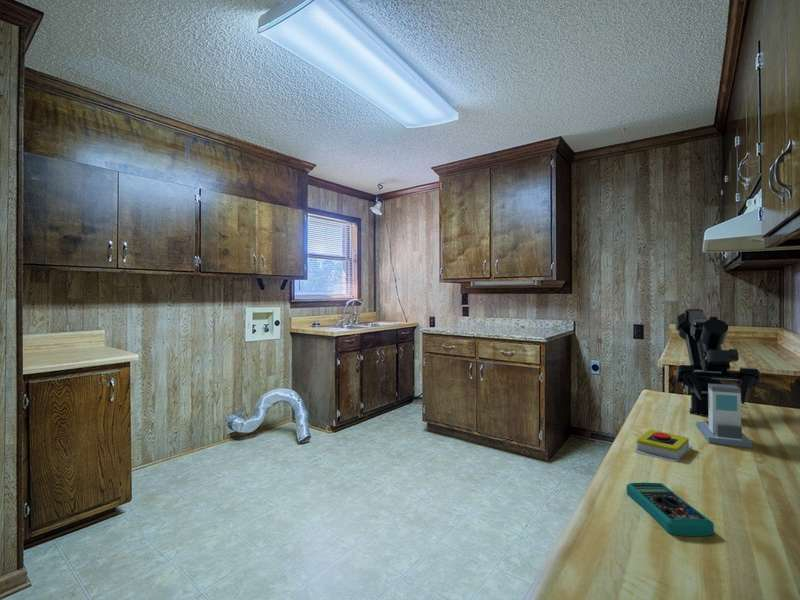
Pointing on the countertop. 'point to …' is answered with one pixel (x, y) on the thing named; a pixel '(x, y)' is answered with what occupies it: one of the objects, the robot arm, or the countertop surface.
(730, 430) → the end clamps
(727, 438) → the steel rail
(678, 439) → the emergency button
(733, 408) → the block
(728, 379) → the robot arm
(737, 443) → the rail board
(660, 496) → the digital multimeter
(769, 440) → the countertop surface
